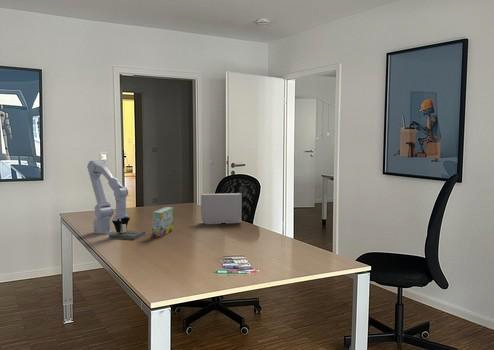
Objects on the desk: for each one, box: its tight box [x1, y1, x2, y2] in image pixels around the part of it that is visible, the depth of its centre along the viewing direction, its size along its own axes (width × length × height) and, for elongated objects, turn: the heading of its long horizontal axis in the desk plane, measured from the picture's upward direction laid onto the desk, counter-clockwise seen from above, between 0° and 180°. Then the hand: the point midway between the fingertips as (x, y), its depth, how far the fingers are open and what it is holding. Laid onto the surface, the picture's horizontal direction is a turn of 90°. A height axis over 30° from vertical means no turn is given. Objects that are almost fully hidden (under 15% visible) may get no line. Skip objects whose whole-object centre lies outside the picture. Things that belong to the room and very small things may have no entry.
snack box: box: [151, 206, 174, 239], centre depth 283 cm, size 21×6×15 cm, turn 168°
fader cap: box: [117, 224, 127, 233], centre depth 276 cm, size 4×4×5 cm
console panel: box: [108, 229, 146, 241], centre depth 276 cm, size 16×14×2 cm
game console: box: [200, 192, 243, 225], centre depth 318 cm, size 6×27×20 cm, turn 104°
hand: (121, 230), depth 276 cm, fingers open, 7 cm apart
